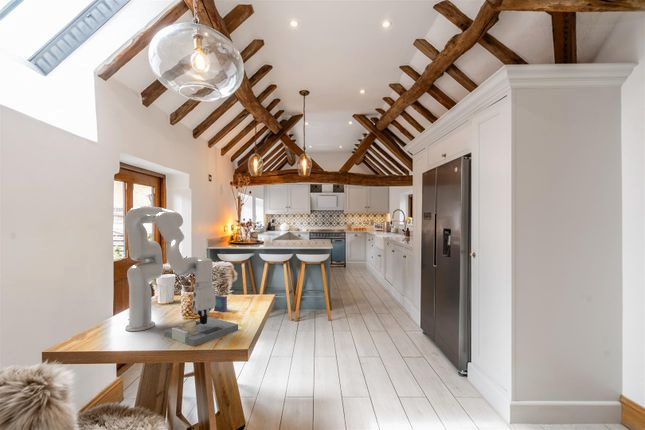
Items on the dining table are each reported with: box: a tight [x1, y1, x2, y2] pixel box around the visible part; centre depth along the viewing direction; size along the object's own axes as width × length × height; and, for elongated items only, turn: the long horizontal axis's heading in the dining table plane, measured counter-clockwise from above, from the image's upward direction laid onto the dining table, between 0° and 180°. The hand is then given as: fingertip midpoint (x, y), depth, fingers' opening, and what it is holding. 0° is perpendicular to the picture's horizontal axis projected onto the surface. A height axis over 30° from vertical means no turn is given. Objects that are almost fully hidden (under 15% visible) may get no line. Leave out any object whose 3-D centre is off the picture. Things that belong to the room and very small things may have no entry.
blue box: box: [213, 292, 228, 313], centre depth 183 cm, size 9×3×11 cm, turn 63°
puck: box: [181, 319, 197, 335], centre depth 140 cm, size 6×6×5 cm
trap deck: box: [163, 316, 239, 347], centre depth 147 cm, size 22×24×4 cm
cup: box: [155, 273, 177, 305], centre depth 202 cm, size 11×11×17 cm
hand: (203, 323), depth 148 cm, fingers closed
